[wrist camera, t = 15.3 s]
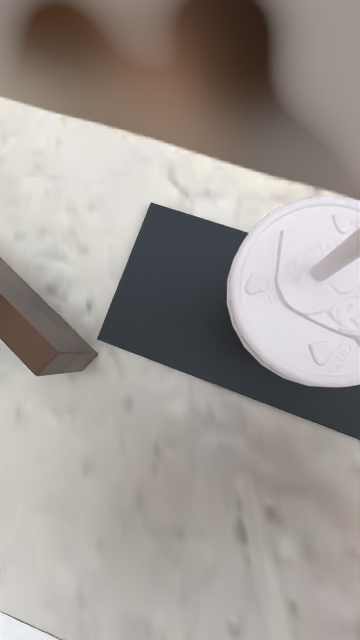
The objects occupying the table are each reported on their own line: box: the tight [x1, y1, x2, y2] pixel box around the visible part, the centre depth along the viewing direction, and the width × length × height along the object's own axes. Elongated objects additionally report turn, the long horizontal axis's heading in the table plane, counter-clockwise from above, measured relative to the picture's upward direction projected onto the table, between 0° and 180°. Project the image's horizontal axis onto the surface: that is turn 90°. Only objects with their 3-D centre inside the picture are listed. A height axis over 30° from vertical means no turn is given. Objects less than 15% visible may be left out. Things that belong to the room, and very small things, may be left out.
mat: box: [97, 203, 360, 439], centre depth 20 cm, size 20×10×1 cm, turn 70°
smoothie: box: [227, 196, 360, 387], centre depth 12 cm, size 6×6×14 cm
